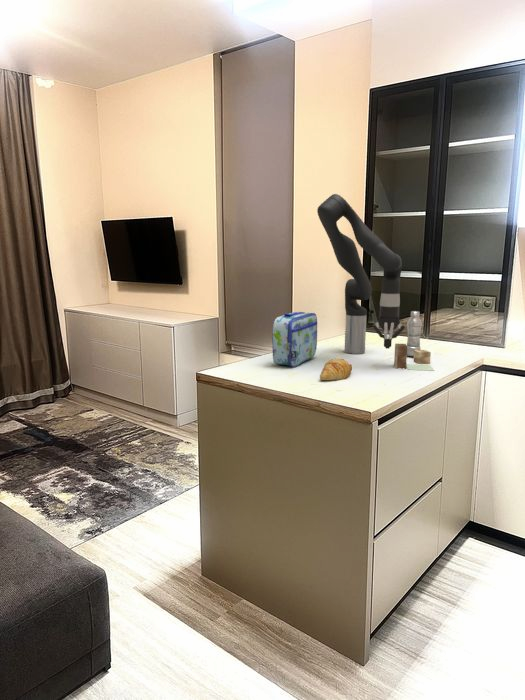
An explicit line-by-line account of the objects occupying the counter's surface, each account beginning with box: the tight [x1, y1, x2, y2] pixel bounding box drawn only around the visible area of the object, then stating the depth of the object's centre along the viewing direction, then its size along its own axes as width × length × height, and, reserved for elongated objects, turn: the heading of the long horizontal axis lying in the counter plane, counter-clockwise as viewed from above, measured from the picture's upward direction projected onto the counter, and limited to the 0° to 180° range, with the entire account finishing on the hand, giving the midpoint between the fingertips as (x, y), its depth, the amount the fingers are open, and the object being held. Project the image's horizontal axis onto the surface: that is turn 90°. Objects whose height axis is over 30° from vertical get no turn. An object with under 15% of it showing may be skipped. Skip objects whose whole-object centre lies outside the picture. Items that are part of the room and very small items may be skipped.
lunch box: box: [271, 311, 318, 368], centre depth 215 cm, size 26×11×21 cm, turn 150°
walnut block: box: [393, 343, 408, 370], centre depth 208 cm, size 4×6×9 cm, turn 172°
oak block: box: [413, 349, 432, 365], centre depth 217 cm, size 5×5×5 cm
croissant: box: [319, 358, 353, 381], centre depth 192 cm, size 21×10×8 cm, turn 143°
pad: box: [406, 363, 435, 372], centre depth 208 cm, size 10×10×1 cm
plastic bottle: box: [406, 310, 423, 358], centre depth 228 cm, size 6×7×20 cm
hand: (387, 348), depth 208 cm, fingers closed
